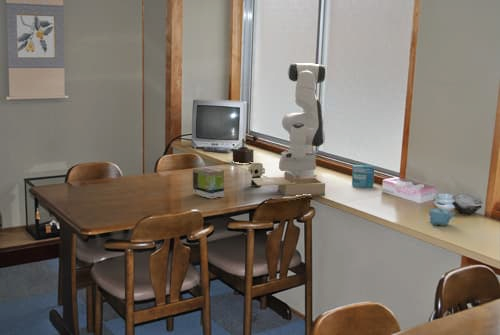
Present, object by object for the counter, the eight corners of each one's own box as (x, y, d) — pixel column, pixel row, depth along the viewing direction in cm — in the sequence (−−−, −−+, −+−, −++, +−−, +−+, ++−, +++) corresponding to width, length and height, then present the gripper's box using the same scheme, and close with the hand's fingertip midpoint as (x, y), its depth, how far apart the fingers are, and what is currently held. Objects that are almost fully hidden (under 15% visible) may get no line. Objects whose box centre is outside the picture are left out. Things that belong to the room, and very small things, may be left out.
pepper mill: (245, 165, 426) (245, 138, 423) (232, 163, 433) (232, 137, 429) (259, 162, 439) (259, 135, 435) (246, 160, 445) (246, 134, 441)
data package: (351, 186, 369) (352, 166, 366) (352, 185, 373) (353, 164, 371) (373, 187, 366) (374, 167, 364) (373, 186, 371) (374, 165, 368)
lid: (251, 179, 355) (251, 172, 354) (288, 177, 359) (288, 171, 358) (257, 185, 340) (257, 178, 339) (295, 184, 344) (295, 177, 344)
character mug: (244, 186, 368) (245, 164, 365) (251, 184, 374) (251, 162, 371) (261, 188, 362) (261, 166, 360) (267, 186, 368) (268, 164, 366)
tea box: (224, 197, 343) (224, 170, 340) (209, 200, 337) (209, 172, 334) (207, 192, 354) (207, 165, 351) (192, 194, 348) (192, 168, 345)
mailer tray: (278, 190, 359) (278, 178, 358) (316, 188, 364) (316, 177, 362) (285, 196, 344) (285, 185, 343) (324, 195, 349) (325, 183, 348)
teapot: (456, 225, 295) (457, 209, 294) (453, 228, 290) (454, 212, 288) (430, 221, 301) (431, 205, 300) (426, 224, 296) (427, 208, 294)
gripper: (314, 151, 354) (313, 176, 357) (278, 152, 350) (278, 177, 353) (318, 153, 348) (317, 178, 351) (281, 154, 344) (280, 180, 347)
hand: (297, 178), depth 352 cm, fingers closed
